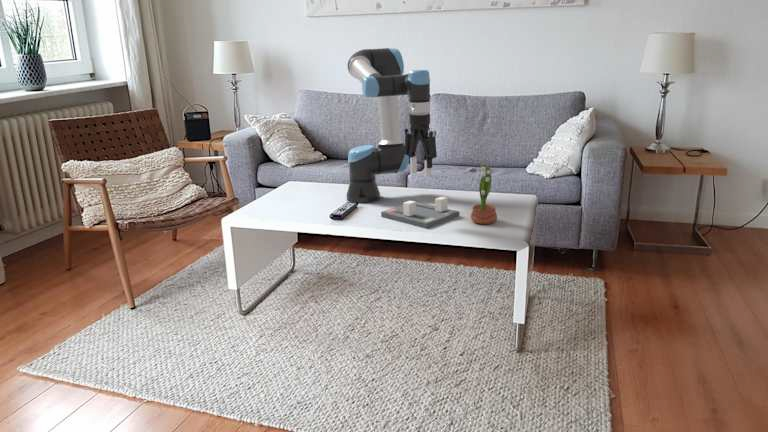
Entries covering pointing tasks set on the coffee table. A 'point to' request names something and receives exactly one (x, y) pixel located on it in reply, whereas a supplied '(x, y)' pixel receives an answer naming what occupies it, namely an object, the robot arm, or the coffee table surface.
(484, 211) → the potted flower
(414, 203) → the switch knob
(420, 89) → the robot arm
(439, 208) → the switch knob
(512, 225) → the coffee table surface
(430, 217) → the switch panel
